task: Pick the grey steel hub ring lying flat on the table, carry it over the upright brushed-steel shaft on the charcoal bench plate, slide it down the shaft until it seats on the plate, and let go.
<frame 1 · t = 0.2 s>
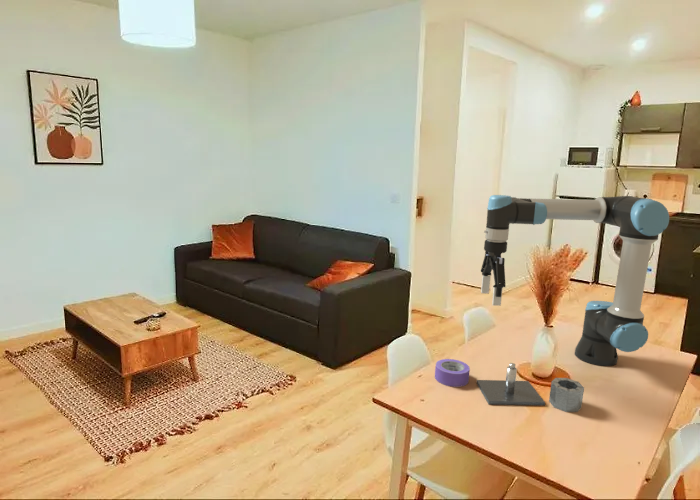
hand: (490, 299, 166), 28 cm above the table, fingers open, 13 cm apart
tape roll: (451, 379, 166), on the table
hub: (564, 404, 151), on the table
shaft stand: (509, 393, 156), on the table
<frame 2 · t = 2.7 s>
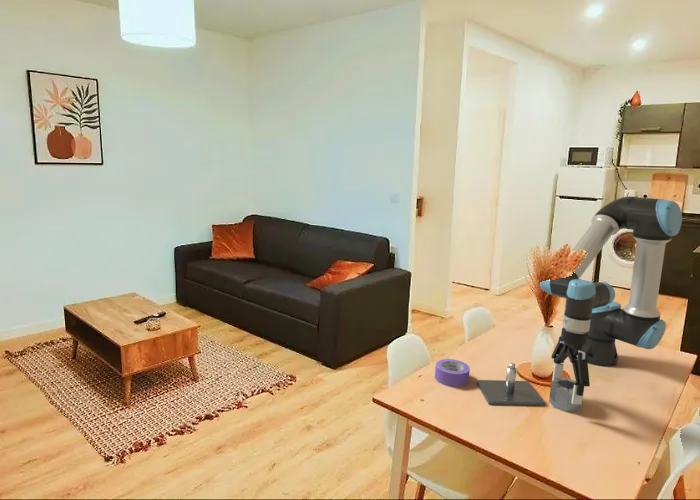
hand: (565, 392, 150), 4 cm above the table, fingers open, 13 cm apart
nothing on the table moved.
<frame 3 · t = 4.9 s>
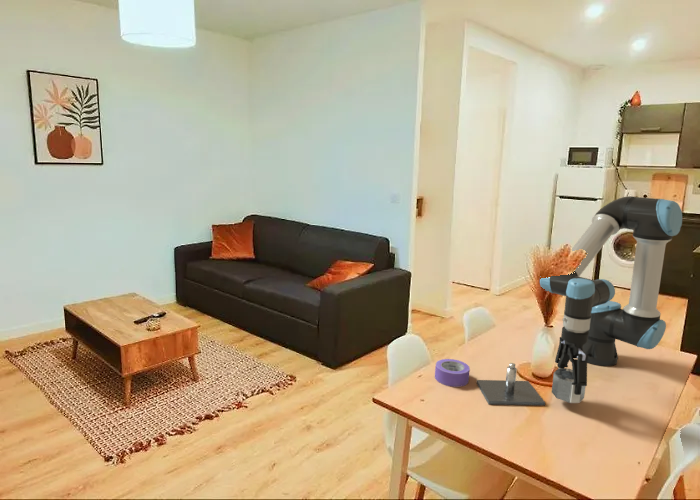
hand: (567, 394, 150), 3 cm above the table, fingers closed on hub, 9 cm apart
hub: (567, 395, 151), point 3 cm above the table, touching gripper
everything else where it was.
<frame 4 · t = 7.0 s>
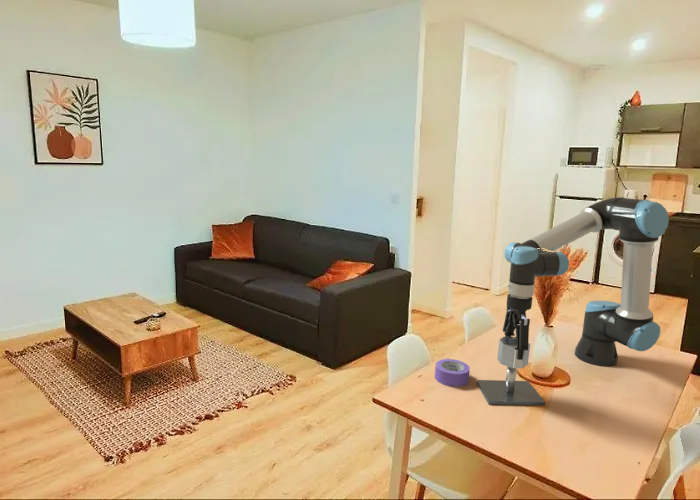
hand: (512, 361, 154), 12 cm above the table, fingers closed on hub, 9 cm apart
hub: (512, 361, 154), point 12 cm above the table, touching gripper
everything else where it was.
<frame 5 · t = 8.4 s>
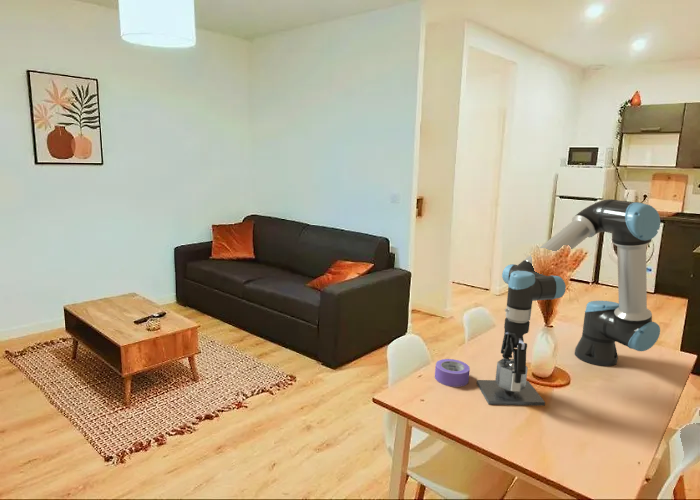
hand: (510, 383, 156), 4 cm above the table, fingers closed on hub, 9 cm apart
hub: (510, 384, 156), point 4 cm above the table, touching gripper
everything else where it was.
when the fingers open (3 cm above the table, at t = 9.4 s): hub drops 1 cm, resting on shaft stand.
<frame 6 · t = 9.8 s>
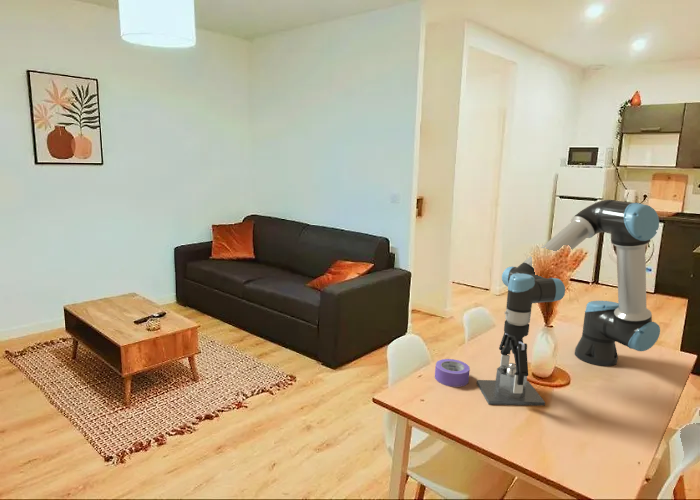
hand: (510, 382, 155), 4 cm above the table, fingers open, 13 cm apart
hub: (509, 390, 156), point 1 cm above the table, touching shaft stand
everything else where it was.
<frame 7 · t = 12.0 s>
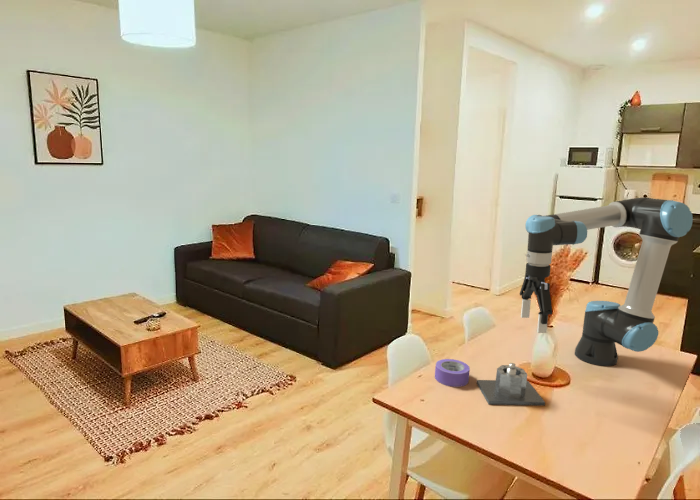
hand: (533, 324, 159), 22 cm above the table, fingers open, 13 cm apart
nothing on the table moved.
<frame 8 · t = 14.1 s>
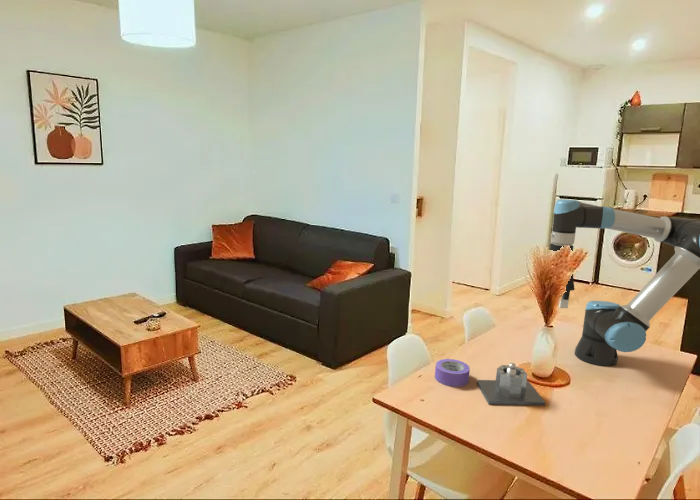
hand: (554, 301, 169), 27 cm above the table, fingers open, 13 cm apart
nothing on the table moved.
at the end: hub 0.1 cm off-centre on the shaft stand, point 1.2 cm above the shaft stand's base; hub tilted 0°; the gripper is holding nothing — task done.
